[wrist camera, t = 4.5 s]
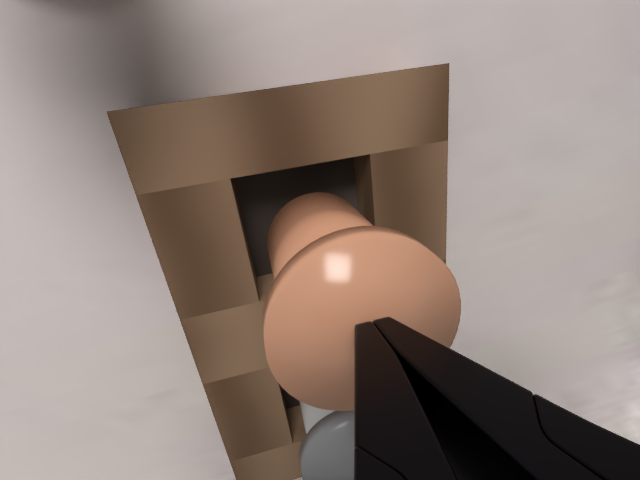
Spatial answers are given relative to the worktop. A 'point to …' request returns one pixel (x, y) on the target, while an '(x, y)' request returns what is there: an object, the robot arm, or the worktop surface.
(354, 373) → the robot arm
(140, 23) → the worktop surface
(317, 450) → the plug grey
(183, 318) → the socket board
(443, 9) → the worktop surface
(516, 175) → the worktop surface
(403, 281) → the plug terracotta
